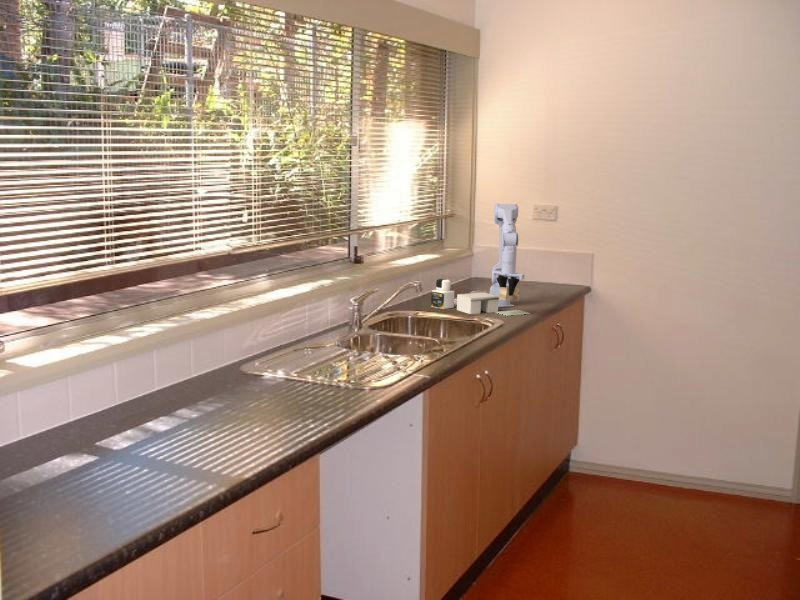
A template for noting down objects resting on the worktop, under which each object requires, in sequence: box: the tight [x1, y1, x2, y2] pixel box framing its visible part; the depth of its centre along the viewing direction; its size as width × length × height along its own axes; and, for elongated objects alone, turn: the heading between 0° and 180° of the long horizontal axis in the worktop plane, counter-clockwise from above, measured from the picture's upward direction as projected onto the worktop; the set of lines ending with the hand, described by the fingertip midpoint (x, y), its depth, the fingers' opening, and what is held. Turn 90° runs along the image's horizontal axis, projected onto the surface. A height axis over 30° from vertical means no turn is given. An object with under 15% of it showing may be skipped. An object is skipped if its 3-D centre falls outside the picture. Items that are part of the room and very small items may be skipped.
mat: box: [494, 309, 531, 317], centre depth 395 cm, size 8×12×1 cm, turn 121°
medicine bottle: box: [430, 278, 455, 310], centre depth 403 cm, size 7×7×12 cm
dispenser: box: [456, 292, 499, 315], centre depth 397 cm, size 10×14×7 cm
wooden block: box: [499, 287, 521, 302], centre depth 392 cm, size 10×3×5 cm, turn 140°
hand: (507, 294), depth 391 cm, fingers closed on wooden block, 3 cm apart
